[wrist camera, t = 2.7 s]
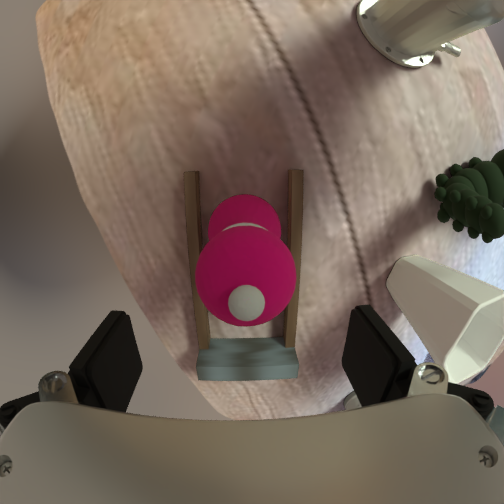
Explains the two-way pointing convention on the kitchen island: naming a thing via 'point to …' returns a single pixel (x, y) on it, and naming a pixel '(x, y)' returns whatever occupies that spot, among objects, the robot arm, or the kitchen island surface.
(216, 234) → the pepper mill
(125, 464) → the robot arm
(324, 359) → the kitchen island surface
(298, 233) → the guide channel
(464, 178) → the toy figurine
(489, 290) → the cup
